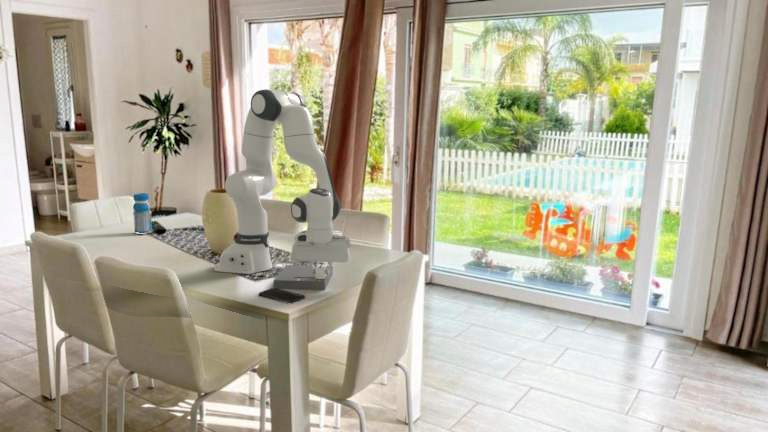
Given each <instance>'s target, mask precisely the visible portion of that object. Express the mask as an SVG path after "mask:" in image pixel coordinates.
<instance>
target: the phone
mask: <svg viewBox="0 0 768 432" xmlns="http://www.w3.org/2000/svg"><path fill="white" fill-rule="evenodd" d="M258 296H259V297H262V298H265V299H270V300H273V301H277V302H280V301H281V303H284V302H286V303H285V304H288V303H291V304H294V303H296V301H297V302H300V301H301V300H305V298H306V295H304V294H301V293H296V292H292V291H289V290H286V289H276V288H274V287H273V288H269V289H266V290H263V291H260V292H258ZM293 302H294V303H293Z"/></svg>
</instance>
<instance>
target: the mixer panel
mask: <svg viewBox="0 0 768 432" xmlns="http://www.w3.org/2000/svg"><path fill="white" fill-rule="evenodd" d="M316 266H317V265H314V267H315V268H316ZM328 267H329V265H326V268H328ZM333 268H334V266H333V265H332V266H331V267H330V273H329V274H326V277H325V279H316V274H312V268H311V267H310V265H301V264H300V265H299V264H298V265H297V264H294V265H293V264H291V265H290V264H285V266H284V267H283V268H282V270H281V271H280V272H279V273H278V275H276V277H275V278H274V279H273V288H276V289H281V290H287V289H288V290H321V291H322V290H326V289H327V286H328V284H329V282H330V280H331V278H332V276H333V274H334V269H333Z"/></svg>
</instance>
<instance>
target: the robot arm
mask: <svg viewBox="0 0 768 432" xmlns="http://www.w3.org/2000/svg"><path fill="white" fill-rule="evenodd" d="M311 116H312V115H311V113H310V111H309V109H308V108H307V105H306V100H305V99H304V97H303V96H302V95H301V94H299V93H297V92H293V91H288V90H282V89H278V90H277V89H270V90H269V89H267V88H265V89H259V90H257V91H256V92H254V93H253V95H252V96H251V99H250V108H249V110H248V113H247V116H246V119H245V122H244V127H243V133H242V134H243V135H242V136H243V137H242V140H241V141H242V143H241V154H242V156H244V159H245V165H246V168H245V169H244V170H238V171H236V172H234V173H232V174H231V175H229V176H228V177H227V178H226V180H225V181H224V182H225V183H224V189H225V192H226V194H227V195H228V197H230V198H231V199H232V201H233V203H234V206H235V209H236V212H237V220H238V221H237V222H238V223H237V225H238V231H237V232H235V234H234V235H233V237H232V238H233V241H234V242H233V243H231V244H230V246H228V247H226V248H225V249H224V250H223V251H222V252H221V254H220V256H219V262H217V263H216V264H215V265H214V267H213V271H215V272H218V273H219V272H221V273H233V274H247V275H249V274H250V275H251V274H255V273H259V272H263V271H264V272H265V271H269V270H271V269H272V268H273V266H274V265H273V263H272V258H271V255H270V254H271V253H270V248H269V247H270V233H269V231H268V229H269V228H268V213H267V210H266V209H264V207H263V206H262V202H261V199H260V197H261V196H265V195H267V194H269V193H270V192H272V191H273V190H274V189H275V188H276V186H277V176H276V174H275V172H274V171H273V165H272V149H273V141H274V134H275V128H276V125H277V124H278V123H280V124H281V127H282V134H283V143H284V144H283V146H284V149H285V152H286V154H287V155H288V156H289V158H291V160H294V161H295V162H298V163H299V164H302V165H306V166H307V167H309V168H310V169H312V171H314V173H315V175H316V179H317V183H318V187H317V188H311V189H310V190H308V192H307V193H306V194H304V195H302V196H297V197H295V198H294V199H293V201H292V203H291V206H290V213H291V217H292V218H293V219H294V220H295V221H296V222H297V223H300V224H301V223H302V224H307V229H306V230H303V231H302V230H301V231H300V232H297V233H296V234H295V236H294V243H293V245H292V248H291V260H293V262H303V263H304V262H308V266H310V267H311V268H312V274H316V268H315V267H314V266H315V265H314V264H315V263H317V262H319V263H327V266H329V267H328V268H325V274H329V273H330V267H331V266H333V264H334V263H348V261H349V260H350V246H351V240H350V238H349V237H348V236H346V235H342V236H333V231H334V224H333V221H334V220H336V219H337V217H338V216H339V214H340V212H341V203H340V199H339V197H338V195H337V192H336V188H335V184H334V181H333V177H332V174H331V168H330V167H329V162H328V160H327V156H326V154H325V152H324V151H323V150H321V149H320V148H319V146H318V143H317V140H316V137H315V136H316V135H315V129H314V123H313V119H312V117H311Z"/></svg>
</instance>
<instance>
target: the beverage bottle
mask: <svg viewBox="0 0 768 432" xmlns="http://www.w3.org/2000/svg"><path fill="white" fill-rule="evenodd" d="M149 197H150V196H149V194H148V193H143V192H141V193H140V192H139V193H134V194H133V201H134V204H133V207H132V210H133V212H132V215H133V222H134V223H133V224H134V233H135V232H139V233H145V232H149V231H151V230H152V231H153V226H152V209H151V208H152V207H151V204H150V203H149V202H148V201H149V200H150V199H149Z"/></svg>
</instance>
